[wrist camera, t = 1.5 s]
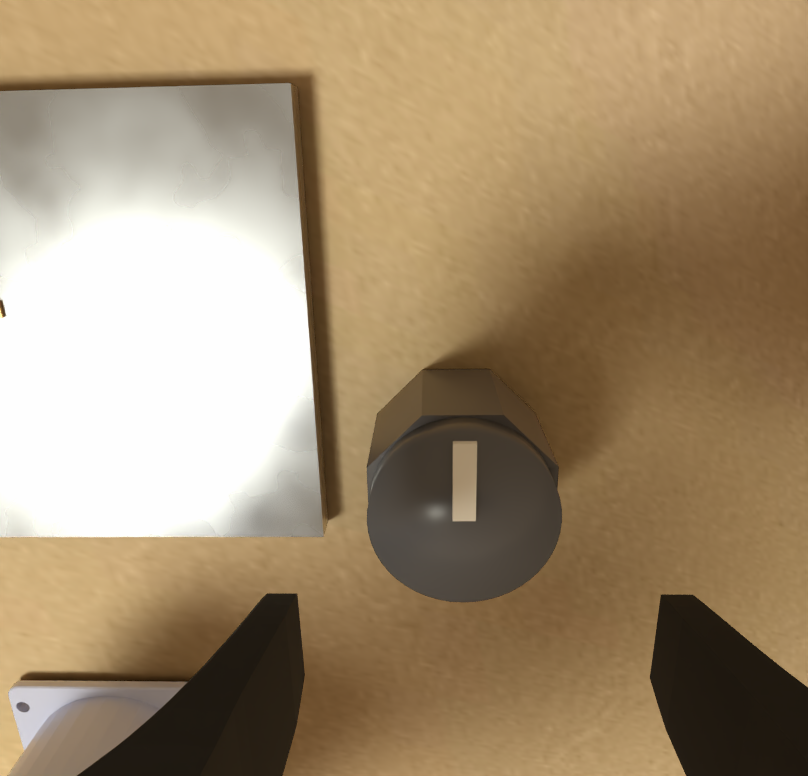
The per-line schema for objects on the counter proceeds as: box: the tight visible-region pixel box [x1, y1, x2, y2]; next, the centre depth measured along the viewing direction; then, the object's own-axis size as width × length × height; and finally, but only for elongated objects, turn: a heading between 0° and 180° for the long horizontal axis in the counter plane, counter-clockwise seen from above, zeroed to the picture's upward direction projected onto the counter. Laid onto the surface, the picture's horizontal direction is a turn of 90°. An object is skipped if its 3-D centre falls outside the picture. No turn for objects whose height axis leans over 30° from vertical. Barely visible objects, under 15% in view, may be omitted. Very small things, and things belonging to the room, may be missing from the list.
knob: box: [367, 369, 562, 602], centre depth 19 cm, size 5×5×5 cm
